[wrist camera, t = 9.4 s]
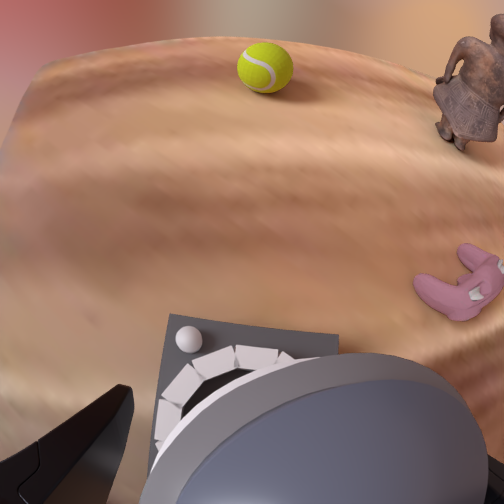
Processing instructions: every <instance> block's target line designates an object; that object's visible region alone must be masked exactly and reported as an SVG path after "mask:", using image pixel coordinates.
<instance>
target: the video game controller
mask: <svg viewBox="0 0 504 504" xmlns="http://www.w3.org/2000/svg"><path fill="white" fill-rule="evenodd" d="M457 254H458V257H459V259H460V261H461V262H462V263H463V264H464V265H465V266H466V267H467V268H468V269H469V270H470V271H472V272H473V273H470V274H465V275H462V276H460V277H459V278H458V279H457V282H458V286H454V285H450V284H448V283H446V282H443V281H441V280H439V279H437V278H436V277H434V276H432V275H429V274H423V273H420V274H418V275H416V276H415V278H414V280H413V285H414V288H415V290H416V292H417V294H418V295H419V297H420V298H421V299H422V300H423V301H424V302H425V303H426V304H428V305H429V306H430V307H432V308H433V309H435V310H437V311H439V312H441V313H443V314H445V315H447V317H448V318H449V319H451V320H455V321H467V320H469V319H470V318H473V317H475V316H476V315H478V314H479V313H480V312H481V310H482V307H484V306H486V305H487V304H488V303H490V302H491V301H492V300H493V299H494V298H495V297H496V296H497V295H498V294H499V293H500V291H501V290H502V288H503V286H504V266H503V265H502V263H503V260H500V259H499V257H498V256H496V255H493V254H490V253H488V252H485V251H483V250H482V249H480V248H478V247H476V246H474V245H472V244H468V243H464V244H461V245H460V246H459V247H458V249H457Z"/></svg>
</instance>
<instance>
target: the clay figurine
mask: <svg viewBox="0 0 504 504" xmlns="http://www.w3.org/2000/svg"><path fill="white" fill-rule="evenodd" d="M489 36H490V39H491V40H492V42H491V44H490V45H488V44H486V43H485V42H483V41H481V40H479V39H477V38H475V37H464V38H462V39H460V40H459V41H458V42H457V44H456V46H455V47H454V49H453V52H452V54H451V56H450V59H449V61H448V64H447V66H446V70H445V74H444V76H442V77H439V78H437V79H436V84H437V85H436V86H435V88H434V90H433V96H434V99H435V101H436V103H437V105H438V106H439V108H440V109H441V111H442V113H443V114H442V119H441V122H437V123H435V125H436V126H437V129H438V132H439V134H440V135H441V136H442V137H443V138H444V139H446V140H450V139H451V137H452V136H453V138H454V140H455V143H454V144H455V146H456V147H457V148H459V149H460V150H464V149H465V145H466V143H468V142H469V141H470V140H472V141H479V142H494V141H495V140H496V139H497V130H498V123H501V121H503V119H504V108H503V109H502V110H501V112H500V107H501V106H502V105H504V14H498V15H495V16H493V17H492V19H491V29H490V35H489ZM461 59H463V60H464V64H463V66H462V67H461V69H460V71H459V74H458V75H456V76H452V73H453V72H454V70H455V67H456V64H457V63H458V62H459V61H460V60H461Z"/></svg>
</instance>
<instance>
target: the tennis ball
mask: <svg viewBox="0 0 504 504" xmlns="http://www.w3.org/2000/svg"><path fill="white" fill-rule="evenodd" d="M237 70H238V74H239V77H240V79H241V80H242V82H243V83H244V84H245V85H246V86H247V87H248V88H250V89H251V90H253V91H256V92H259V93H272V92H275V91H278V90H280V89H282V88H283V87H284V86H286V85H287V84H288V82H289V81H290V79H291V77H292V74H293V62H292V59H291V57H290V56H289V54H288V53H287V52H286V51H285V50H284V49H283V48H282V47H280V46H278V45H276V44H273V43H266V42H264V43H257V44H254V45H252V46H250V47H248V48H247V49H246V50H245V51H244V52H243V53H242V54H241V56H240V58H239V61H238V65H237Z"/></svg>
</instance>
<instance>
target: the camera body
mask: <svg viewBox="0 0 504 504" xmlns="http://www.w3.org/2000/svg"><path fill="white" fill-rule="evenodd" d="M338 345H339V335H337V334H324V333H313V332H302V331H292V330H282V329H273V328H265V327H256V326H248V325H241V324H233V323H226V322H220V321H213V320H206V319H200V318H194V317H188V316H182V315H176V314H170V315H169V320H168V325H167V331H166V336H165V342H164V348H163V354H162V360H161V366H160V372H159V379H158V386H157V392H156V400H155V407H154V415H153V423H152V432H151V441H150V451H149V461H148V473H147V479H148V477H149V475H150V472H151V469H152V467H153V464H154V461H155V459H156V456H157V454H158V452H159V451H160V449H161V447H162V445H163V444H164V442H165V440H166V439H167V437H168V436H169V434H170V433H171V432H172V431H173V429H174V428H175V427H176V426H177V424H178V423H179V422H180V421H181V420H182V419H183V418H184V417H185V416H186V415H187V414H188V413H189V412H190V411H191V410H192V409H193V408H194V407H195V406H196V405H197V404H199V403H200V402H201V401H203V400H204V399H205V398H207V397H208V396H209V395H211V394H212V393H213V392H215V391H216V390H218V389H220V388H222V387H223V386H225V385H227V384H228V383H230V382H232V381H233V380H235V379H238V378H240V377H242V376H244V375H247V374H249V373H251V372H253V371H255V370H259V369H262V368H265V367H268V366H271V365H274V364H277V363H282V362H287V361H292V360H296V359H305V358H315V357H324V356H331V355H338Z"/></svg>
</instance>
